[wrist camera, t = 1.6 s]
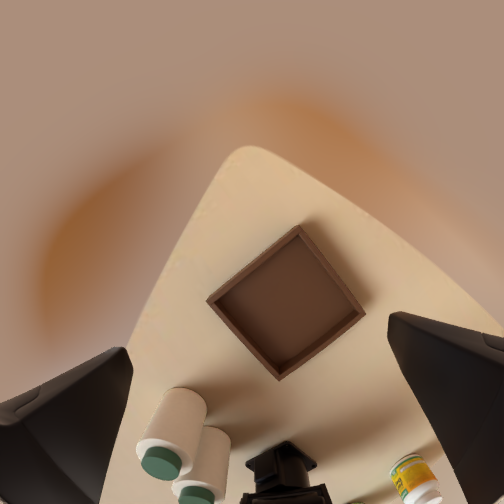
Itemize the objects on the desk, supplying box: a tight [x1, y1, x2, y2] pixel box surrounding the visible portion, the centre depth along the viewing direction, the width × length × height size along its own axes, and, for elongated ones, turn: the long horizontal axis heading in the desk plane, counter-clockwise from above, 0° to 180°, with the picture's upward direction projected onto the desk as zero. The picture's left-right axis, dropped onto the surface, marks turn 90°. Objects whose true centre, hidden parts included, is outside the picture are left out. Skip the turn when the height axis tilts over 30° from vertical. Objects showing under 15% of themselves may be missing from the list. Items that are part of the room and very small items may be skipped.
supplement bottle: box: [390, 454, 442, 504], centre depth 23 cm, size 5×5×10 cm
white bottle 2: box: [172, 426, 231, 504], centre depth 22 cm, size 5×5×10 cm
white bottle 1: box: [136, 388, 207, 481], centre depth 22 cm, size 5×5×10 cm
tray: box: [206, 226, 366, 381], centre depth 25 cm, size 10×10×2 cm
